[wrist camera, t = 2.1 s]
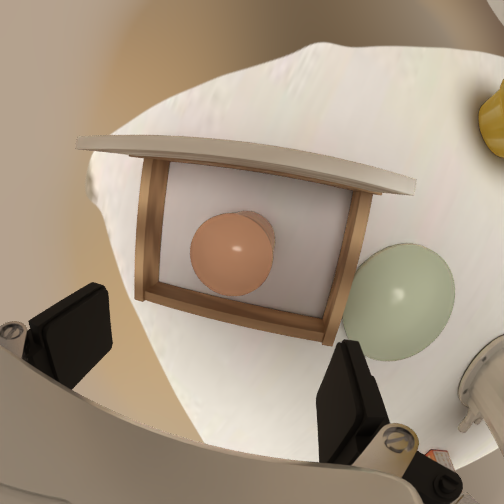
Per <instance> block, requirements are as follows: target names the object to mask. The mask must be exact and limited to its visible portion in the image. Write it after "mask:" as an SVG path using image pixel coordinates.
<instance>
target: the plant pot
mask: <svg viewBox="0 0 504 504" xmlns="http://www.w3.org/2000/svg"><path fill="white" fill-rule="evenodd" d="M479 127H480V131H481V134H482V137H483V139H484V141H485V143H486V145H487V146H488V148H489V149H490V150H491V151H492V152H493V153H494V154H495V155H497V156H499V157H502V158H504V79H503V81H502V83H501V86H500V89H499V90H498V91H497V92H496V93H495V94H494V95H493V96H492V97H491V98H490V99H488V100H487V101H486V102H485V103H484V104H483V105H482V106H481V108H480V110H479Z"/></svg>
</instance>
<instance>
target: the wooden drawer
mask: <svg viewBox="0 0 504 504" xmlns="http://www.w3.org/2000/svg"><path fill="white" fill-rule="evenodd" d="M75 149H80V150H90V151H100V152H110V153H118V154H126V155H129V156H130V157H138V158H144V162H143V169H142V176H141V185H140V194H139V204H138V215H137V229H136V246H135V300H138V301H142V302H143V301H144V300H147V301H150V302H153V303H157V304H160V305H163V306H167V307H170V308H174V309H177V310H181V311H184V312H188V313H192V314H195V315H199V316H203V317H207V318H211V319H215V320H219V321H223V322H227V323H231V324H235V325H239V326H244V327H248V328H253V329H257V330H262V331H266V332H271V333H276V334H281V335H286V336H291V337H296V338H302V339H307V340H313V341H319V342H322V345H326V346H333V343H334V340H335V337H336V334H337V331H338V328H339V325H340V322H341V319H342V316H343V313H344V309H345V306H346V303H347V300H348V296H349V293H350V289H351V286H352V282H353V279H354V275H355V271H356V268H357V264H358V260H359V256H360V252H361V248H362V244H363V239H364V235H365V231H366V226H367V221H368V217H369V212H370V207H371V202H372V196H373V194H375V195H382V193H391V194H402V195H412V196H414V192H415V186H416V179H413V178H410V177H407V176H404V175H401V174H397V173H394V172H390V171H387V170H383V169H380V168H376V167H372V166H368V165H365V164H361V163H357V162H352V161H348V160H344V159H340V158H335V157H331V156H326V155H321V154H316V153H311V152H306V151H300V150H295V149H289V148H283V147H277V146H270V145H264V144H256V143H249V142H241V141H232V140H222V139H212V138H199V137H185V136H164V135H103V136H102V135H100V136H81V137H77V142H76V148H75ZM170 162H181V163H191V164H201V165H209V166H218V167H225V168H233V169H240V170H247V171H254V172H260V173H266V174H272V175H278V176H284V177H289V178H295V179H300V180H305V181H310V182H315V183H320V184H325V185H330V186H334V187H339V188H343V189H348V190H352V191H353V194H352V200H351V205H350V210H349V215H348V220H347V225H346V229H345V234H344V238H343V243H342V247H341V251H340V256H339V260H338V264H337V268H336V272H335V276H334V280H333V283H332V287H331V291H330V295H329V298H328V302H327V305H326V309H325V312H324V316H323V319H321V318H316V317H310V316H305V315H300V314H295V313H290V312H285V311H280V310H275V309H270V308H265V307H261V306H256V305H251V304H247V303H242V302H238V301H233V300H229V299H225V298H221V297H216V296H212V295H208V294H204V293H200V292H196V291H192V290H188V289H184V288H180V287H176V286H172V285H169V284H165V283H161V282H158V281H159V261H160V246H161V234H162V223H163V212H164V203H165V195H166V186H167V179H168V172H169V165H170Z"/></svg>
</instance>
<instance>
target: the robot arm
mask: <svg viewBox="0 0 504 504" xmlns="http://www.w3.org/2000/svg"><path fill="white" fill-rule="evenodd" d="M29 325H30V329H29V330H28V331H27V328H26V326H25V325H24V324H23V323H21V322H17V321H12V322H7V323H5V324H3V325H1V326H0V504H479V503H478V502H477V501H476V500H475V499H474V498H473V497H472V496H471V495H470V494H469V493H468V492H467V493H465V494H463V493H462V489H463V484H462V480H461V478H460V477H459V475H458V474H457V473H455V472H454V471H452V470H450V469H449V468H447V467H445V466H443V465H441V464H439V463H438V462H436V461H434V460H432V459H431V458H429V457H427V456H425V455H424V454H422V453H420V452H419V451H417V449H418V446H419V440H418V437H417V435H416V433H415V432H414V431H413V430H412V429H410V428H409V427H408V426H405V425H403V424H398V423H392V424H390V422H389V418H388V415H387V412H386V409H385V406H384V403H383V400H382V397H381V394H380V391H379V389H378V386H377V383H376V380H375V378H374V376H372V375H371V373H370V370H369V368H368V365H367V362H366V359H365V357H364V354H363V351H362V349H361V346H360V343H359V341H354V340H346V339H344V340H343V341H342V343H340V342H338V343H337V345H336V348H335V350H334V353H333V356H332V358H331V361H330V364H329V366H328V369H327V371H326V374H325V376H324V379H323V381H322V383H321V386H320V388H319V390H318V393H317V396H316V409H317V425H318V443H319V462H309V461H298V460H289V459H281V458H274V457H268V456H261V455H255V454H250V453H244V452H239V451H234V450H229V449H225V448H221V447H216V446H212V445H208V444H205V443H201V442H197V441H193V440H190V439H187V438H184V437H180V436H177V435H174V434H171V433H168V432H165V431H162V430H159V429H156V428H153V427H151V426H148V425H146V424H143V423H141V422H138V421H135V420H133V419H131V418H128V417H126V416H124V415H121V414H119V413H117V412H114V411H112V410H110V409H108V408H106V407H103V406H102V405H100V404H98V403H95V402H94V401H91V400H90V399H88V398H86V397H84V396H82V395H80V394H78V393H76V392H74V391H73V390H72V389H73V388H74V387H75V386H76V385H77V383H79V382H80V381H81V379H82V378H83V377H84V376H85V375H86V374H87V373H88V372H89V371H90V370H91V369H92V368H93V367H94V366H95V365H96V364H97V363H98V362H99V361H100V360H101V359H102V358H103V357H104V356H105V355H106V354H107V353H108V352H109V351H110V350H111V348H112V344H113V342H112V332H111V323H110V311H109V296H108V291H107V290H106V288H105V286H103V285H101V284H97V283H94V282H92V283H90V284H88V285H86V286H85V287H83V288H81V289H79V290H78V291H76V292H74V293H73V294H71V295H69V296H68V297H66V298H64V299H63V300H61V301H59V302H58V303H56V304H54V305H53V306H51V307H50V308H48V309H46V310H45V311H43V312H42V313H40V314H39V315H37V316H35V317H34V318H32V319H31V320H29ZM459 398H460V401H461V402H462V404H463V405H464V406H466V407H470V408H469V410H468V411H467V413H468V414H467V416H466V417H465V418H464V419H463V420H462V422H461V423H460V424H459V426H458V430H459V431H460V432H462V433H465V432H466V431H467V430H468V429H469V427H470V426H471V425H472V423H473V422H474V423H475V424H477V425H478V424H479V423H480V422H481V420H482V419H484V421H485V422H486V424H487V426H488V428H489V430H490V431H491V433H492V435H493V437H494V439H495V441H496V443H497V445H498V447H499V448H500V450H501V452H502V454H503V456H504V335H503V336H501V337H499V338H497V339H495V340H494V341H492V342H491V343H490V344H489V345H487V346H486V347H485V348H484V349H483V350H482V351H481V352H480V353H479V354H478V355H477V357H476V358H475V359H474V360H473V362H472V363H471V364H470V366H469V367H468V369H467V371H466V372H465V374H464V376H463V378H462V380H461V383H460V386H459Z"/></svg>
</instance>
